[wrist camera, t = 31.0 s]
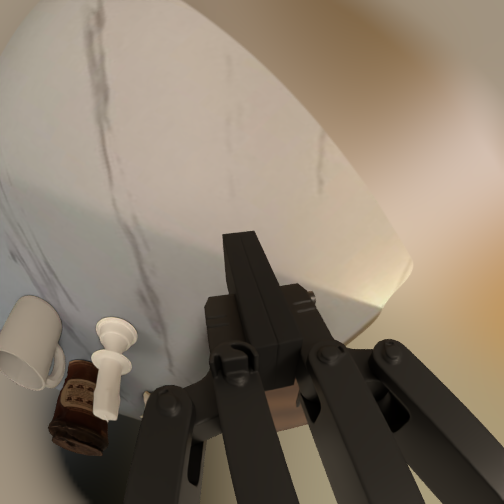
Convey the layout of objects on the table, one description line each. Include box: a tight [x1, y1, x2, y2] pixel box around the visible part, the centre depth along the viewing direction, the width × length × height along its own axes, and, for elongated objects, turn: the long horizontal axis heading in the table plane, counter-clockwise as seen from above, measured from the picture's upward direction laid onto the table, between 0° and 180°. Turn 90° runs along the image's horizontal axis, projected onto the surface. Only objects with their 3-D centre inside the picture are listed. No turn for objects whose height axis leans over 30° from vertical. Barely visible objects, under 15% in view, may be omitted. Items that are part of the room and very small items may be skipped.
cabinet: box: [265, 378, 308, 432], centre depth 32 cm, size 15×12×10 cm
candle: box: [91, 317, 138, 422], centre depth 24 cm, size 5×5×12 cm
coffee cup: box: [48, 360, 109, 456], centre depth 26 cm, size 9×8×13 cm
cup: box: [0, 296, 66, 390], centre depth 22 cm, size 7×10×9 cm
